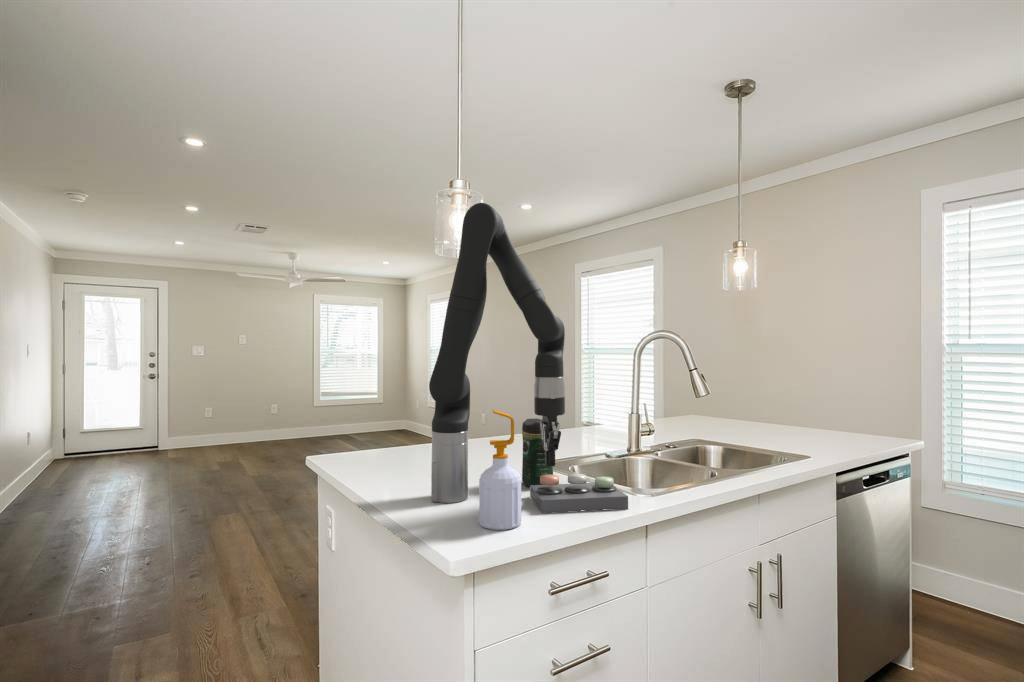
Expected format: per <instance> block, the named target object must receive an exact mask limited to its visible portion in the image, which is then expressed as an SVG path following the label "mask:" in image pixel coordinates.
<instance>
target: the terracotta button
mask: <svg viewBox="0 0 1024 682" xmlns="http://www.w3.org/2000/svg"><path fill="white" fill-rule="evenodd" d="M540 484H542V485H549V486H551V485H558V484H560V476H559V475H556V474H553V475H541V476H540Z"/></svg>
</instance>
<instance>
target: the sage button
mask: <svg viewBox="0 0 1024 682" xmlns="http://www.w3.org/2000/svg"><path fill="white" fill-rule="evenodd" d="M594 483H595V486H598V487H613V486H615V485H614V478H613V477H611V476H596V477H595V478H594Z"/></svg>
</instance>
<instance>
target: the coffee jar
mask: <svg viewBox="0 0 1024 682" xmlns="http://www.w3.org/2000/svg"><path fill="white" fill-rule="evenodd" d="M541 422H542V418H541V419H540V418H536V417H535V418H527V419H526V420H524V421H523V422H522V428H521V434H522V461H521V462H522V463H521V464H522V466H521V468H522V469H521V472H522V473H521V483H523V485H525V486H526V487H529V488H530V485H542V484H540V476H541V475H554V466H551V467H548V466H546V464H545V450H544V446H543V445H542V438H541V432H540V423H541Z"/></svg>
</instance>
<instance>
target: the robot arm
mask: <svg viewBox="0 0 1024 682" xmlns="http://www.w3.org/2000/svg"><path fill="white" fill-rule="evenodd" d="M459 247H460V248H459V254H458V255H459V256H458V259H457V263H456V267H455V271H454V276H453V280H452V284H451V285H452V286H451V289H450V293H449V297H448V302H447V307H446V312H445V317H444V323H443V329H442V336H441V341H440V347H439V352H438V354H437V358H436V361H435V364H434V367H433V370H432V373H431V375H430V380H429V383H428V385H429V386H428V389H429V394H430V396H431V398H432V399H433V401H434V406H435V408H434V414H433V417H432V421H431V475H430V477H431V486H430V487H431V492H430V493H431V497H430V498H431V502H432V503H435V502H436V503H445V504H446V503H447V504H449V503H450V504H452V503H460V502H463V501H466V500H467V499H469V496H468V495H469V479H468V478H469V421H470V414H471V412H470V411H471V384H470V379H469V376H468V375H467V374H466V372H467V371H466V369H467V362H468V357H469V353H470V351H471V347H472V344H473V342H474V340H475V339H476V336H477V334H478V331H479V329H480V327H481V322H482V321H483V320H482V319H483V315H484V312H485V306H486V302H487V294H488V293H487V292H488V289H487V288H488V281H487V280H488V279H487V264H488V263H487V262H488V256H490V258H491V259H492V261H493V262H494V263H495V266H496V267H497V269H498V271H499V273H500V275H501V277H502V280H503V282H504V284H505V286H506V288H507V290H508V291H509V294H510V295H511V297H512V298H513V300H514V302H515V304H516V305H517V307H518V308H519V309H520V311H521V313H522V314H523V317H524V319H525V321H526V324H527V326H528V328H529V329H530V331H531V333H532V334H533V336H534V337H535V339H536V340H537V355H536V356H535V361H534V386H533V390H534V392H533V393H534V394H533V395H534V398H533V399H534V400H533V401H534V403H533V405H534V411H533V412H534V414H535V415H537V416H541V417H542V418H541V420H542V422H541V423H540V432H541V438H542V445H543V446H544V450H545V464H546V466H548V467H551V466H553V467H555V466H556V451H557V450H558V449H559V445H560V441H561V436H562V432H561V430H560V422H559V421H558V416H563V415H565V414H566V400H565V399H566V395H565V394H566V393H565V391H566V390H565V389H566V388H565V380H564V357H563V356H564V350H565V349H564V348H565V339H566V337H565V336H566V335H565V334H566V332H565V330H566V329H565V326H564V323H563V320H561V319H560V318H559V316H556V315H555V313H554V312H553V310H552V308H551V307H550V306H549V304H548V302H547V301H546V297H545V294H544V292H543V291H542V289H541V287H540V286H539V285H538V283H537V281H536V279H535V277H533V275H532V273H531V271H530V270H529V269H528V267H526V264H525V263H524V261H523V260H522V259H521V258H520V255H518V252H517V251H516V249H515V247H514V245H513V243H512V241H511V239H510V237H509V234H508V232H507V229H506V227H505V224H504V221H503V219H502V216H501V215H500V214H499V213H498V211H497V210H496V209H495V208H494V207H493V206H491V205H490V204H488V203H487V202H486V203H485V202H478V203H475V204H473V205H472V206H470V207H469V209H467V211H466V212H465V215H464V217H463V221H462V227H461V239H460V246H459Z"/></svg>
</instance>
